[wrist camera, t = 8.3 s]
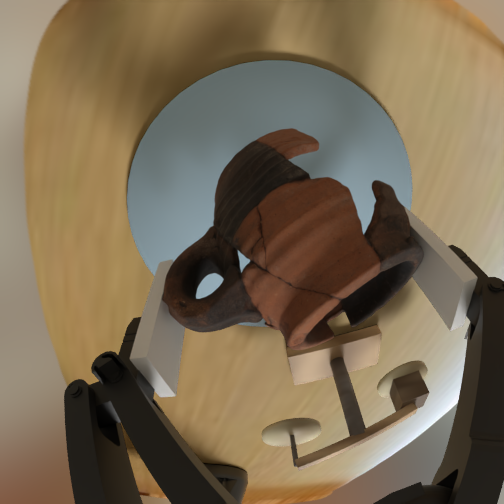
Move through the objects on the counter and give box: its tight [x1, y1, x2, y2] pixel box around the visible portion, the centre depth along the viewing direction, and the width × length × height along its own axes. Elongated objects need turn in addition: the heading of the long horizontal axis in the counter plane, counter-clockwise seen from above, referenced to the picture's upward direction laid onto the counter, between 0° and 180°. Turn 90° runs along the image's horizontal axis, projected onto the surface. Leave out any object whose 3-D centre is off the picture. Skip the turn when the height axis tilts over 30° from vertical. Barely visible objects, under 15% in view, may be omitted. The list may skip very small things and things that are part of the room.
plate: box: [127, 60, 412, 327], centre depth 20 cm, size 20×20×1 cm
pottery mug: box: [162, 128, 424, 350], centre depth 15 cm, size 12×10×8 cm
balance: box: [262, 325, 429, 470], centre depth 23 cm, size 16×5×11 cm, turn 103°
